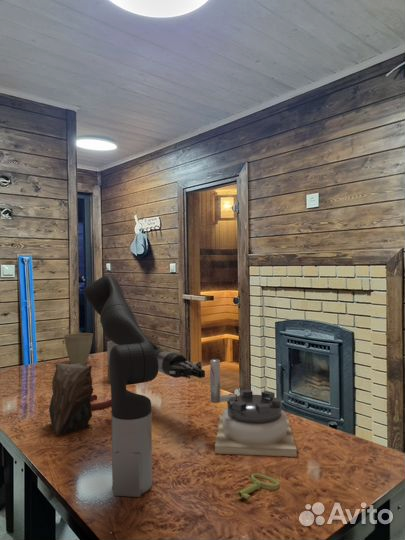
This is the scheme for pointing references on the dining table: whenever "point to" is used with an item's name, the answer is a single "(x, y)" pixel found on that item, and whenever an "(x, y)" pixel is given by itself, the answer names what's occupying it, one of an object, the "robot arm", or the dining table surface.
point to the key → (258, 485)
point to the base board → (276, 449)
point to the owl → (71, 398)
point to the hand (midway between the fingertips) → (203, 374)
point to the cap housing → (255, 430)
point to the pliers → (99, 404)
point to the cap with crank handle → (245, 401)
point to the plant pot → (78, 347)
